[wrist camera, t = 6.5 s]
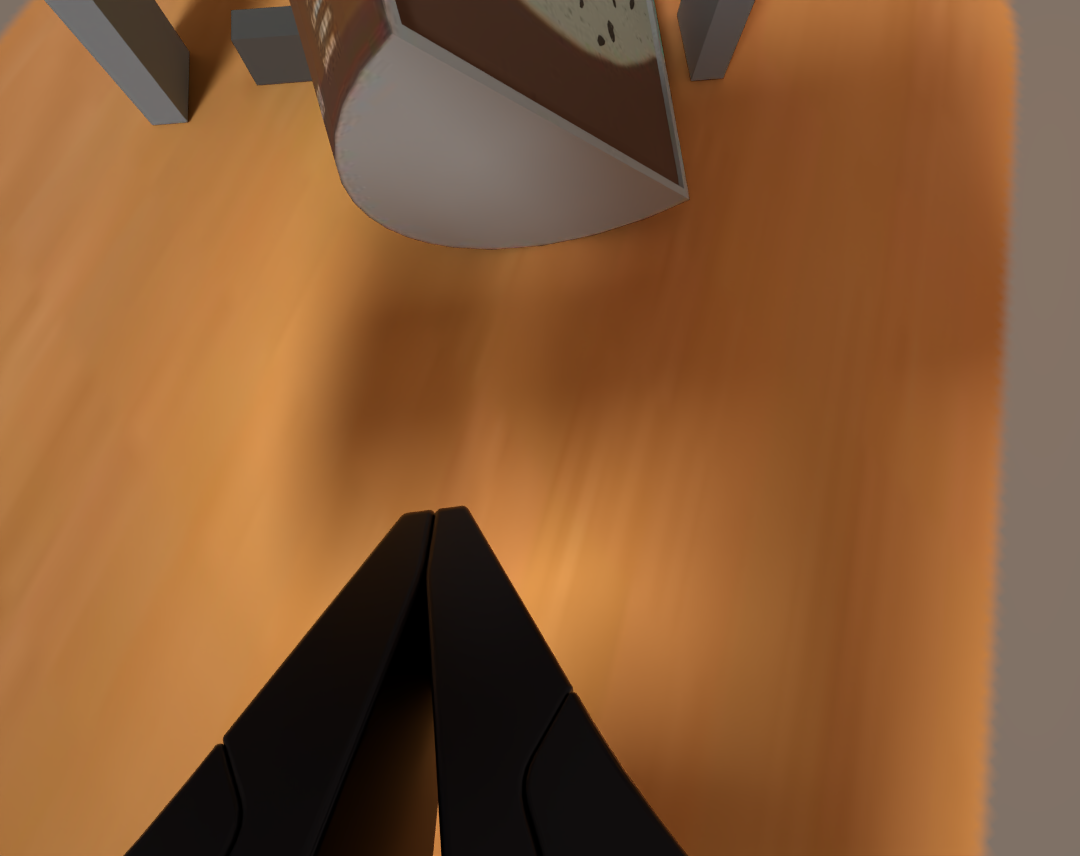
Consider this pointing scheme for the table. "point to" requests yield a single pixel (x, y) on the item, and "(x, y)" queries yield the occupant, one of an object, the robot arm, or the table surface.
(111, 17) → the overhang shelf
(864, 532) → the table surface
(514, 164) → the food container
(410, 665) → the robot arm
